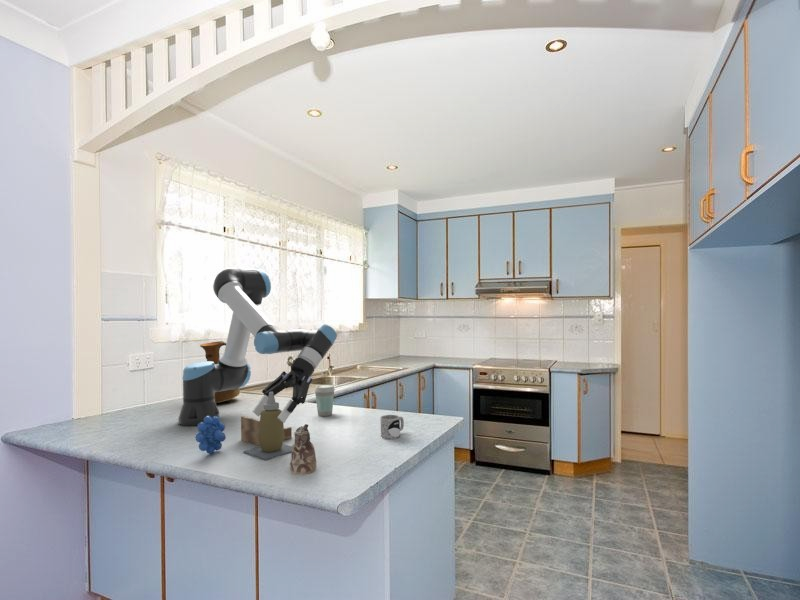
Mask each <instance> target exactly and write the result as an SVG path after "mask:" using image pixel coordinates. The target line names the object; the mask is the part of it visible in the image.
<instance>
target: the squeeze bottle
mask: <svg viewBox="0 0 800 600" xmlns="http://www.w3.org/2000/svg"><path fill="white" fill-rule="evenodd" d="M281 412H282V410H281V409H280V403H279V402H278V401H276V398H275V395H274V393H273V392H269V396H268V401H267V403H265V404H264V410H263V411H262V412H261V414H260V416H259V420H260V425H259V435H258V440H259V443H260V446H261V449H262V451H264V452H273V451H278V450H280V449H281V448H282V444H284V441H285V440H284V438H285V434H284V428H285V426H284V423H283V422H282V421H280V420H279V419H278V418H277V417H278V416H279V415H280V413H281Z"/></svg>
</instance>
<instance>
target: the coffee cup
mask: <svg viewBox="0 0 800 600" xmlns="http://www.w3.org/2000/svg"><path fill="white" fill-rule="evenodd" d="M335 391H336V389H335V386H334V385H332V384H318V385H316V386H315V388H314V394H315V402H316V409H317V410H316V411H317V415H320V416H319V417H328V416H327V415H330V416H332V415H333V407H334V406H333V405H334V397H335ZM331 414H332V415H331Z"/></svg>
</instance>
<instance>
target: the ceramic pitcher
mask: <svg viewBox="0 0 800 600" xmlns="http://www.w3.org/2000/svg"><path fill="white" fill-rule="evenodd" d="M226 343H227V342H225V341H223V340H219V341H212V342H205V343H202V344H200V345H199V346H200V348H202V349H203V350H204V352H205V359H206V361H212V362H214V364H218V361H219V357H220V356H221V355H220V351H221V348H222V346H226ZM240 394H241V388H238V389H234V390H232V389H231V390H226V391H220V392H215V403H216V404H218V403H219V404H220V403H222V402H223V403H224V402H226V401H231V400H232V399H234V398H236V397H238V396H239V395H240Z"/></svg>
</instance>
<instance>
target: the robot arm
mask: <svg viewBox="0 0 800 600" xmlns="http://www.w3.org/2000/svg"><path fill="white" fill-rule="evenodd" d="M212 282H213V283H212V288H213V292H214V295H215V297H217V299H218V300H219V301H220V302H221V303H222V304H223V303H224V304H226V305H227V306H228V308H229V309H230V310H231V311H232V316H231V321H230V325H229V330H228V334H227V339H226V342H225V343H226V345H225V346H224V347H225V348H224V352H223V354H222V355H219V356H220V357H219V361H218V364H214V362H212V361H207V360H206V361H202V362H201V361H200V362H196V363H192V364H191V363H190V364H189V365H186V366H185V367H184V369H183V372H182V397H183V398H182V399H183V401H182V402H183V403H182V406H181V409H180V413H179V416H178V418H177V420H178V425H180V424H181V425H180V426H186V425H193V426H198V424H199V423H201V422H203V423H204V418H205V417H206V416H210V417H212V418H213V417H214V416H217V417H218V418H219V419H220V412H219V409H218V406H217V403H215V392H220V391H226V390H231V389H232V390H234V389H238V388H240V389H241V388H243V387H245V386H246V385H247V384H248V383H249V381H250V379H251V375H252V371H251V366H250V364H249V362H248V359H247V358H246V354H247V349H248V346H249V342H250V336H251V334H252V336H253V337H254V339H253V346H254V347H255V351H256V352H257V353H259V354H260V355H272V354H280V353H288V352H298V351H299V354H297V357H296V358H294V361H293V362H292V363H291V365H290V371H289V372H288V373H287V372H286V371H284V370H283V371H282V372H281V373H280V375H279V376H278V377H276V378H275V379H274V380H273V381H272V382H270V383H269V384H268V385H267V386H266V387H264V388H263V389H262V391H261V393H262V394H263V396H262V397H261V398H260V400H259V402H257V404H256V406H255V407H254V408H253V410H252V413H253V414H255V415H256V416H257V417H260V414H261V412H262V411H263V410H264V404H265V403H267V401H268V396H269V392H273V393H274V396H276V395H277V394H279V393H281V392H282V391H283V390H285V389H289V388H292V397H290V399H289V400H288V402H287V403H286V405H285V406H284V408H283V409H282V410H281V411H282V412H281V413H280V415H279V416H278V417H277V418H278V419H279V420H280V421H282V422H283V424H284V423H286V422H287V420H288V418H289V416H290V415H291V414H292V413H293V412H294V410H295V409H296V408H297V406H298V405H300V404H302V405H304V404H305V403H306V398H307V396H308V392H309V389H310V385H311V383H312V381H313V378H312V375H313V374H314V372H315V369H317V367H318V366H319V365H320V363H321V361H322V360H323V359H324V358H325V356H326V355H327V353H328V352H329V351H330V349H331V347H332V346H333V345H334V344H335V341H336V340H337V338H338V333H337V332H336V330H335V328H333V327H332V326H330V325H328V324H325V323H324V324H320V325H319V326H318V328H316V329H315V330H309V329H302V328H293V329H290V330H278V329H277V327H276V326H275V325H274V324H273V323H272V322H271V321H270V319H268V318H267V316H266V315H265V314H264V312H262V311H261V309H260V308H259V306H261V305H262V301H263V298H264V299H265V298H266V297H268V296H269V295H270V294H271V289H272V283H271V279H270V276H269V275H268V273H267V272H266V271H264V270H262V269H257V268H246V267H245V268H243V267H235V266H234V267H233V266H232V267H225V268H223V269H221V270H220V271H218V272H217V274H216V275H215V276H214V278H213V281H212Z"/></svg>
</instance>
